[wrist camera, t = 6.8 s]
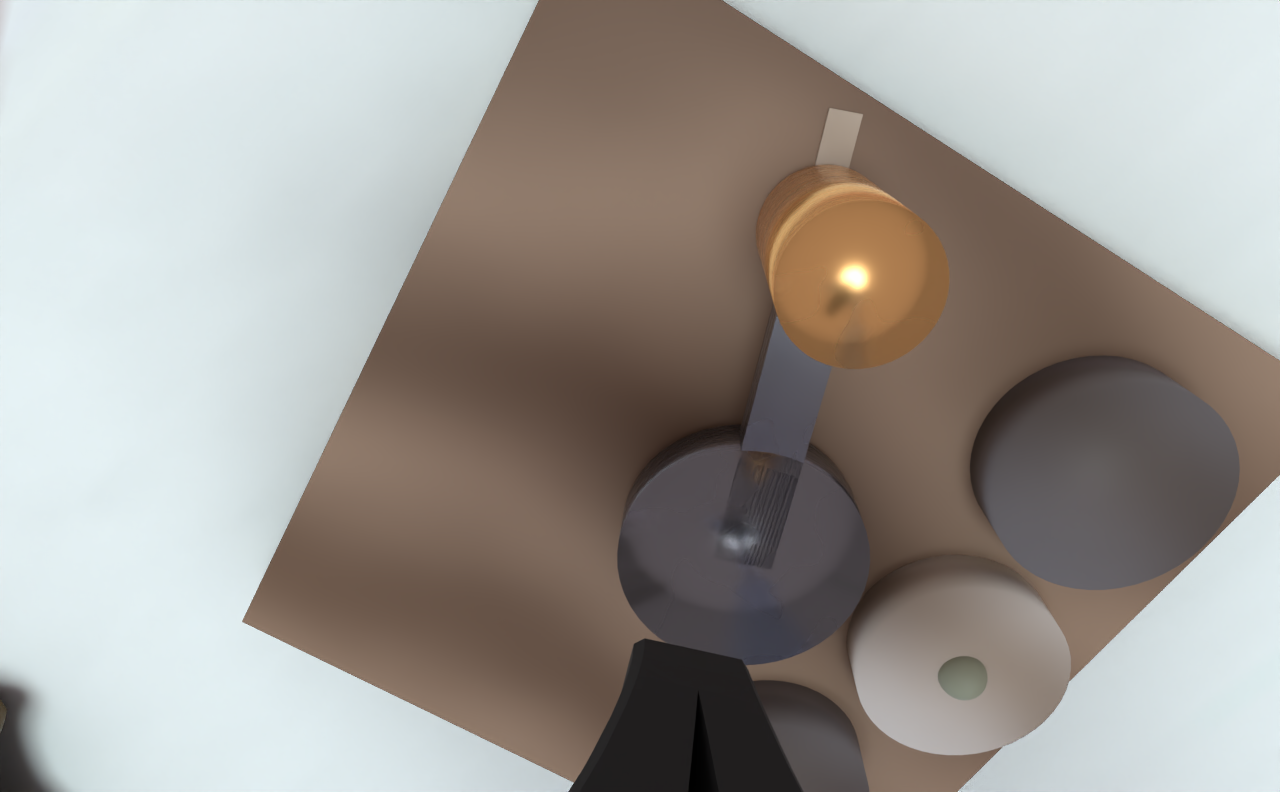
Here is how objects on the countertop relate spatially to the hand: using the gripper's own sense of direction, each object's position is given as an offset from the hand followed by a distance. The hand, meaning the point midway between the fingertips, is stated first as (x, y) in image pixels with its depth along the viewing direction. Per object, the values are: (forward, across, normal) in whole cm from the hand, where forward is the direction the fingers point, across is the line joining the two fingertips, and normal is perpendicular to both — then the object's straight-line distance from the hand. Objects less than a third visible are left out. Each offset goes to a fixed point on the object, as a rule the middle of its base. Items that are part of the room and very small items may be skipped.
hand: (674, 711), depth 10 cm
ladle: (+7, -1, -1) cm, 8 cm away
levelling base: (+9, -2, +2) cm, 9 cm away
